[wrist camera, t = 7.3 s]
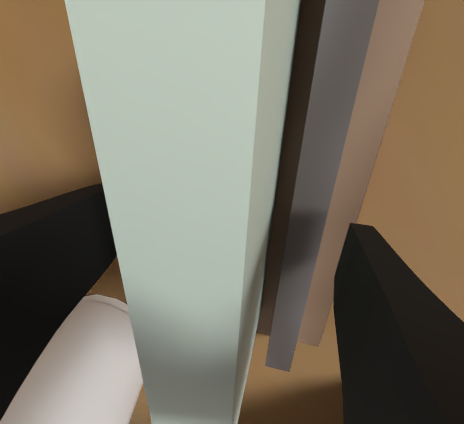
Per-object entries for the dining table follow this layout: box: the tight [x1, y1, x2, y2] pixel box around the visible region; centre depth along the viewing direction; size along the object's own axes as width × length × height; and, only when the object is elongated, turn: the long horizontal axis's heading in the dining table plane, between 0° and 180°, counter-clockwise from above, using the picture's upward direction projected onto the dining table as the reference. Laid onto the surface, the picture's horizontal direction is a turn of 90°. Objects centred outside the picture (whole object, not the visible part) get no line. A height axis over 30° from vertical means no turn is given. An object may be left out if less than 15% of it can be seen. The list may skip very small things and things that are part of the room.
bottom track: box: [256, 0, 425, 372], centre depth 12 cm, size 9×18×3 cm, turn 178°
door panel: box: [65, 0, 301, 424], centre depth 10 cm, size 2×14×7 cm, turn 178°
